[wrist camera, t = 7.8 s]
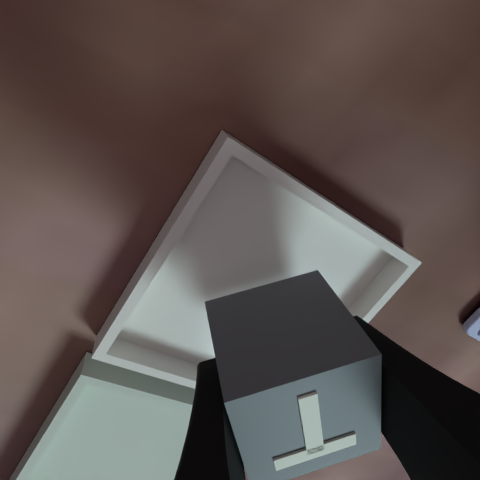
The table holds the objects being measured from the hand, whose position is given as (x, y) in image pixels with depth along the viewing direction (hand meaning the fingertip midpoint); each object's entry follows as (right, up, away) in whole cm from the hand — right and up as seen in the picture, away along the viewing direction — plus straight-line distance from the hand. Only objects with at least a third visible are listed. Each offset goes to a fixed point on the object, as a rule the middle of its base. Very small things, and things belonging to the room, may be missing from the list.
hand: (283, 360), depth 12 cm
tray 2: (-1, +2, +3) cm, 4 cm away
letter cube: (0, +1, +1) cm, 2 cm away
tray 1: (-6, -7, +6) cm, 11 cm away
